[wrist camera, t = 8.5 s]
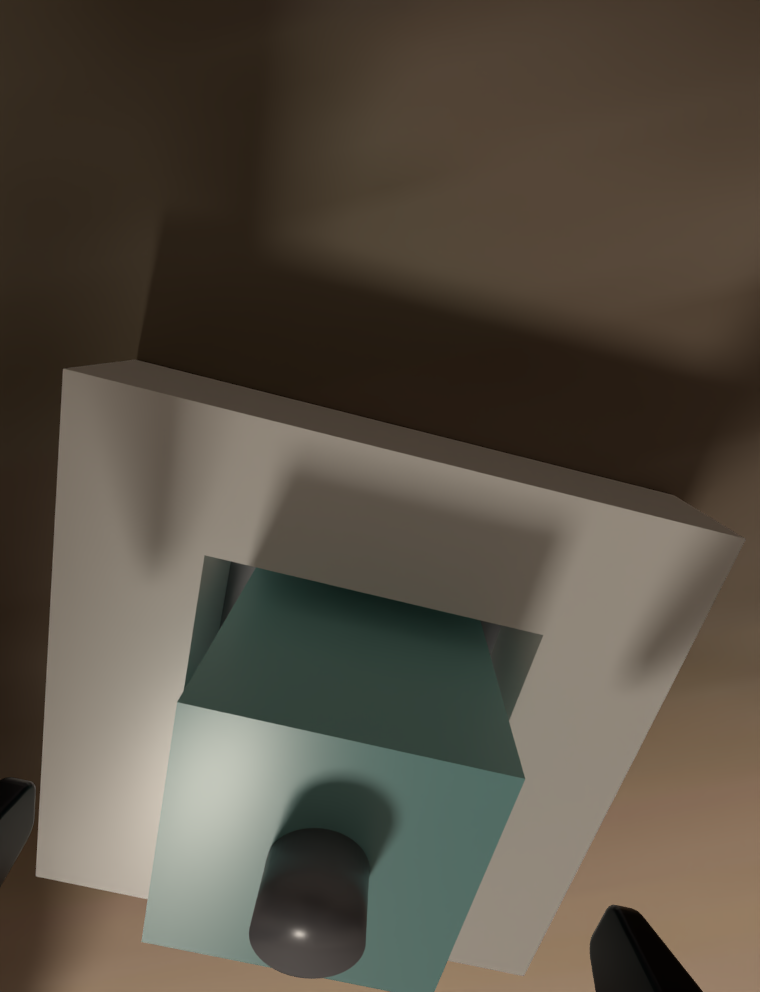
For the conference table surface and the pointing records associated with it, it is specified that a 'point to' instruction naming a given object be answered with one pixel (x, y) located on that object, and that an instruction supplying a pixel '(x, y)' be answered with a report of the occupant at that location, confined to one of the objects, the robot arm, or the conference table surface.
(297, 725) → the plug
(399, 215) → the conference table surface
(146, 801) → the socket plate
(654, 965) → the robot arm
